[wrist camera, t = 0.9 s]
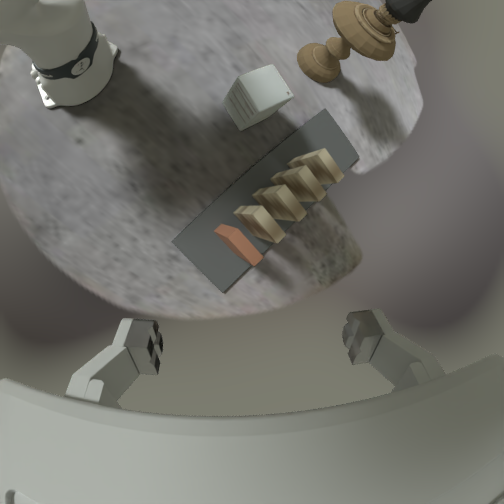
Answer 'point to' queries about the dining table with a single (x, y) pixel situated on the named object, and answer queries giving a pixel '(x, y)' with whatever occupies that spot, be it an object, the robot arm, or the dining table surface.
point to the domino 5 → (319, 166)
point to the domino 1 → (238, 243)
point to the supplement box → (256, 96)
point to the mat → (240, 194)
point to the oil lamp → (358, 35)
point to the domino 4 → (260, 223)
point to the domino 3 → (280, 203)
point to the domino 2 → (300, 184)
